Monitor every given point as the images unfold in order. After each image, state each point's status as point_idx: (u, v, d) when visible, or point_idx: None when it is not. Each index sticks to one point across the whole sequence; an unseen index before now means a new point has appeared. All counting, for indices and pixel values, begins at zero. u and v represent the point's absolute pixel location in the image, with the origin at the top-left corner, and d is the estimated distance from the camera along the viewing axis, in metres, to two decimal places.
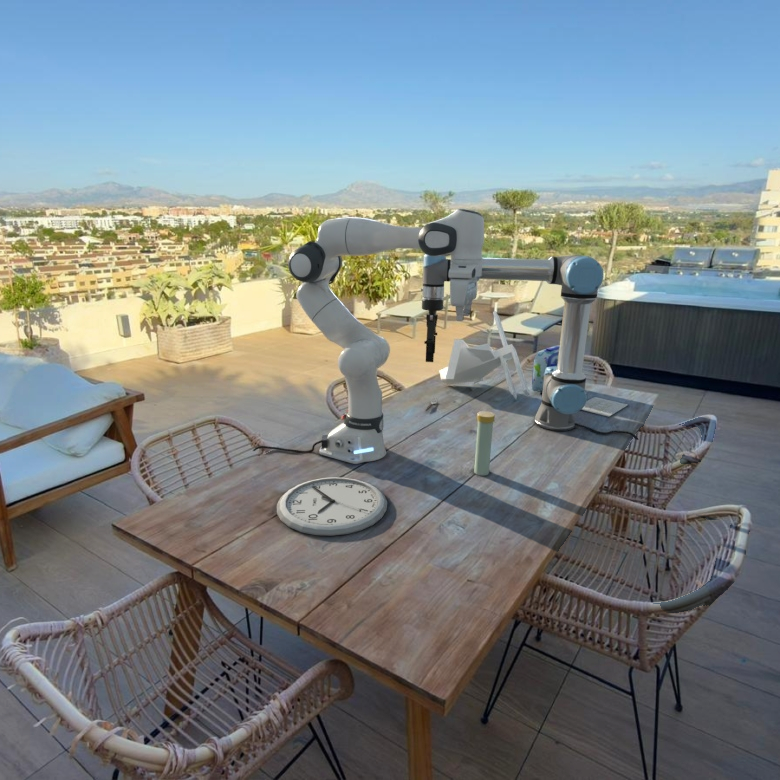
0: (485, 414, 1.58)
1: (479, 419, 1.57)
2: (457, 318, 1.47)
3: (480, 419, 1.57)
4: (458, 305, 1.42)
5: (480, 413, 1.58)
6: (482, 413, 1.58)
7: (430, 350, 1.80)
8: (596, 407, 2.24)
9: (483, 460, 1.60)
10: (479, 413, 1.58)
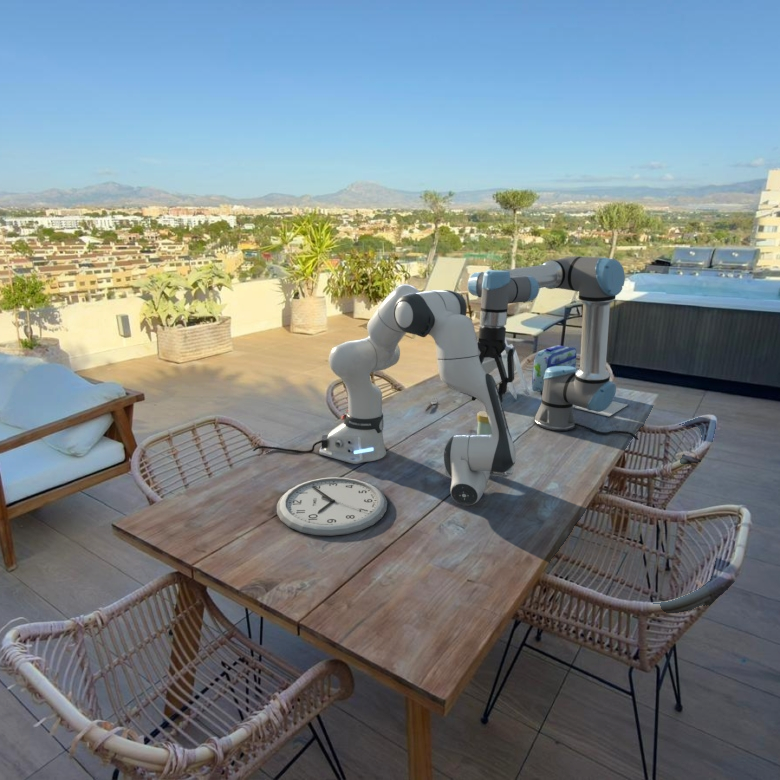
0: (485, 414, 1.58)
1: (479, 419, 1.57)
2: None
3: (480, 419, 1.57)
4: None
5: (480, 413, 1.58)
6: (482, 413, 1.58)
7: None
8: None
9: None
10: (479, 413, 1.58)
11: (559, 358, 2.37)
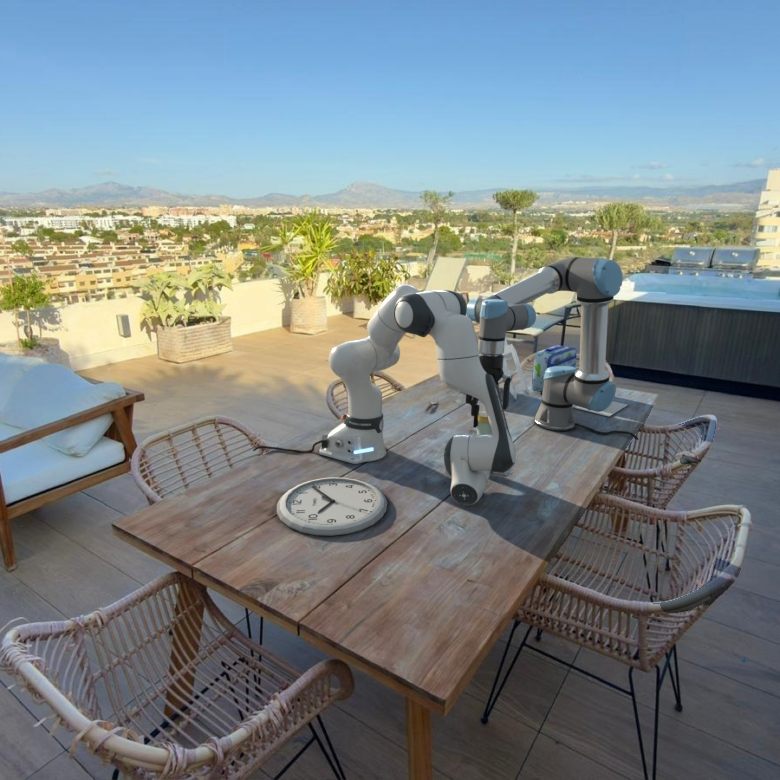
0: (485, 414, 1.58)
1: (479, 419, 1.57)
2: None
3: (480, 419, 1.57)
4: None
5: (480, 413, 1.58)
6: (482, 413, 1.58)
7: None
8: None
9: None
10: (479, 413, 1.58)
11: (559, 358, 2.37)
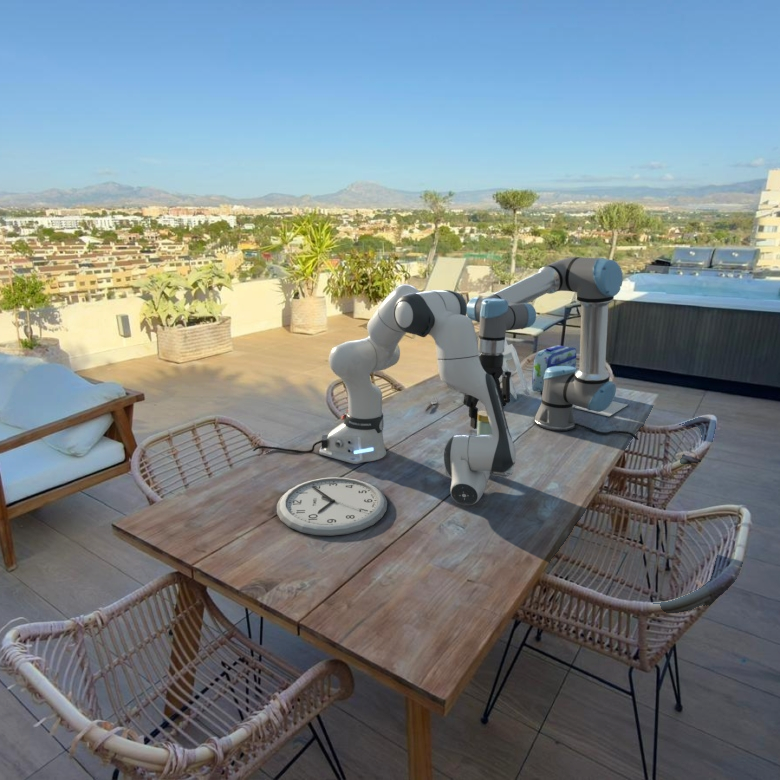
0: None
1: None
2: None
3: None
4: None
5: (484, 415, 1.56)
6: (484, 414, 1.57)
7: (470, 414, 1.56)
8: None
9: None
10: (484, 415, 1.56)
11: (559, 358, 2.37)
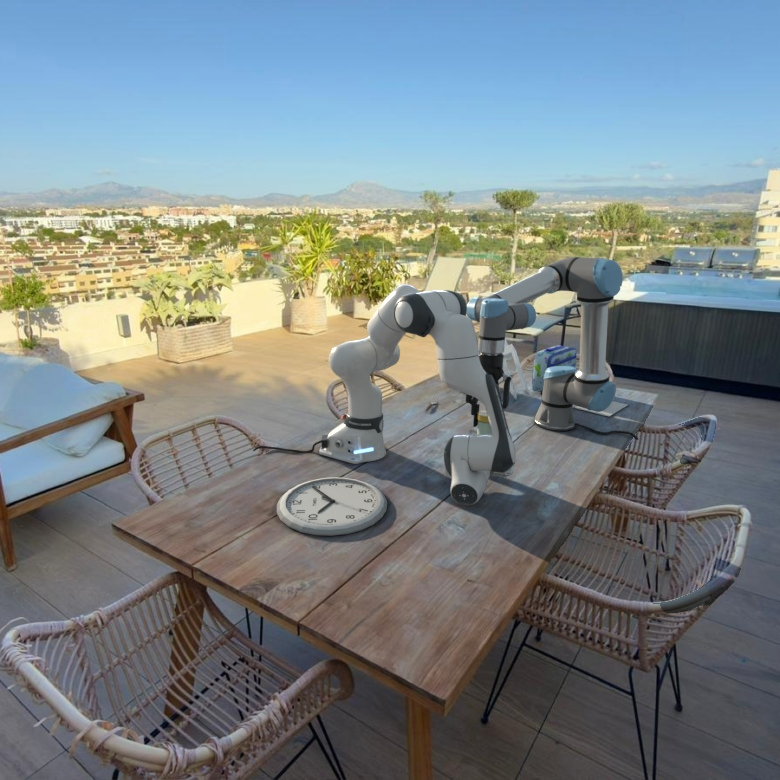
0: None
1: None
2: None
3: None
4: None
5: (484, 415, 1.56)
6: (484, 414, 1.57)
7: None
8: None
9: None
10: (484, 415, 1.56)
11: (559, 358, 2.37)
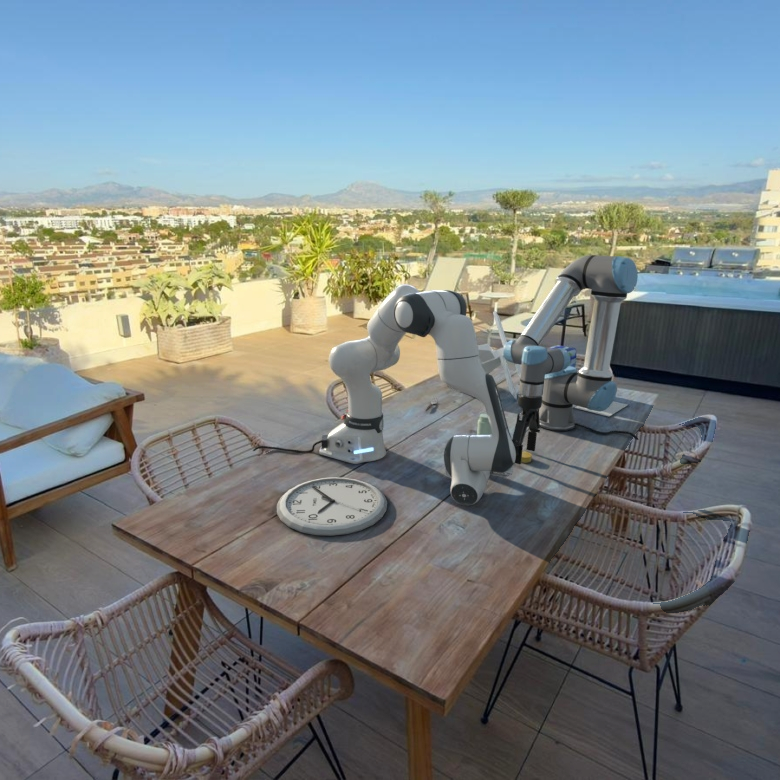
0: (524, 453, 1.73)
1: None
2: None
3: None
4: None
5: (528, 455, 1.72)
6: (526, 455, 1.72)
7: (516, 452, 1.65)
8: None
9: None
10: (529, 455, 1.72)
11: None
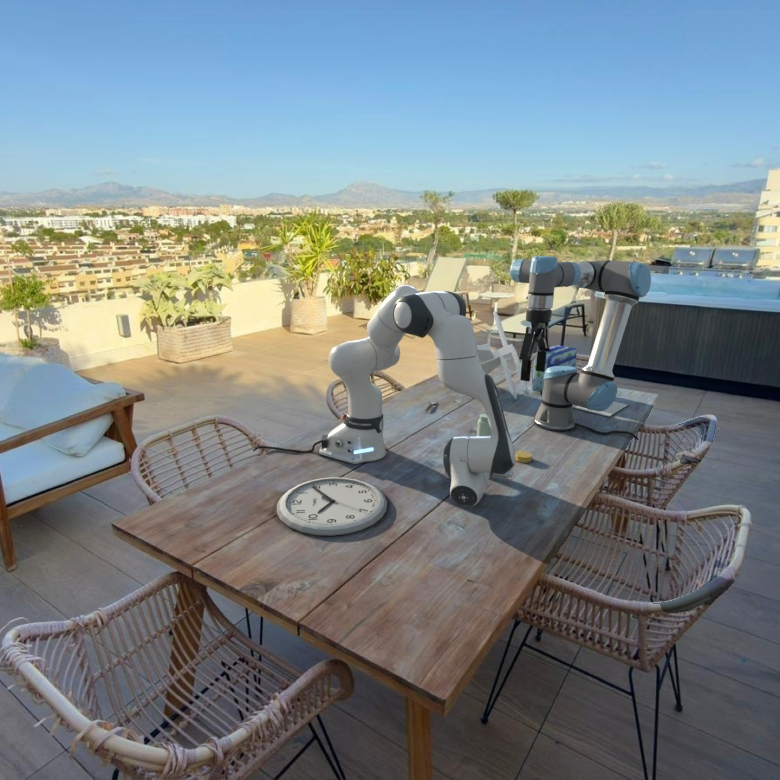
0: (524, 453, 1.73)
1: None
2: None
3: None
4: None
5: (528, 455, 1.72)
6: (526, 455, 1.72)
7: (525, 367, 1.57)
8: None
9: None
10: (529, 455, 1.72)
11: (559, 358, 2.37)
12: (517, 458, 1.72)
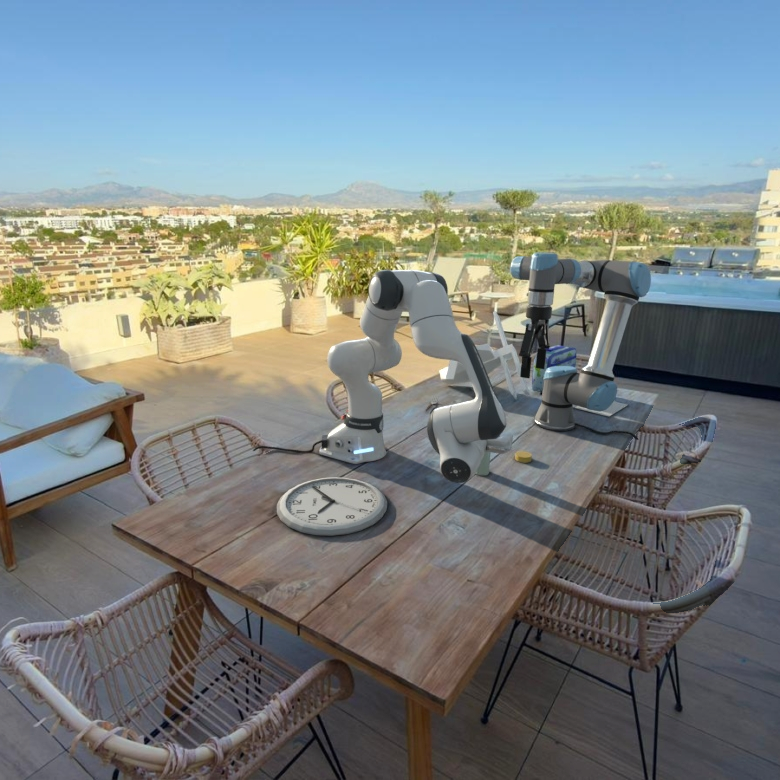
0: (524, 453, 1.73)
1: None
2: None
3: None
4: None
5: (528, 455, 1.72)
6: (526, 455, 1.72)
7: (525, 364, 1.57)
8: None
9: (483, 460, 1.60)
10: (529, 455, 1.72)
11: (559, 358, 2.37)
12: (517, 458, 1.72)
